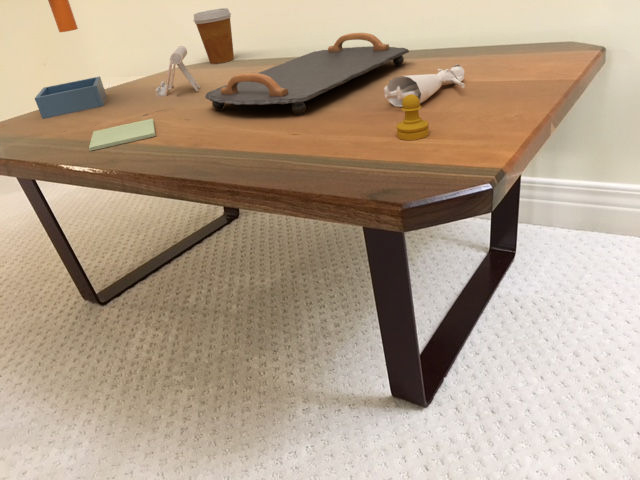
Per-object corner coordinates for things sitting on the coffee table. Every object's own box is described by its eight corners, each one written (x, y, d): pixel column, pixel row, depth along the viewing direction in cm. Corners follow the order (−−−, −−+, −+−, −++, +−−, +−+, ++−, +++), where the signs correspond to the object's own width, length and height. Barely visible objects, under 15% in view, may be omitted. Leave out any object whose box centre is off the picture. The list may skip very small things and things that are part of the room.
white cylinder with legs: (164, 91, 115) (153, 50, 111) (201, 85, 115) (191, 44, 111) (158, 101, 107) (145, 57, 103) (197, 94, 108) (186, 50, 104)
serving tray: (325, 61, 118) (321, 31, 115) (420, 60, 105) (418, 26, 102) (193, 115, 92) (183, 79, 90) (297, 123, 79) (289, 80, 76)
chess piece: (410, 127, 70) (408, 89, 67) (435, 131, 67) (433, 91, 64) (390, 137, 67) (387, 97, 65) (415, 141, 65) (412, 100, 62)
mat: (90, 151, 82) (88, 147, 82) (94, 134, 91) (93, 131, 91) (155, 136, 84) (154, 132, 84) (153, 121, 93) (153, 118, 93)
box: (44, 122, 105) (34, 98, 103) (52, 110, 115) (43, 87, 113) (104, 109, 108) (96, 85, 105) (107, 98, 118) (100, 76, 115)
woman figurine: (359, 77, 79) (430, 57, 90) (361, 108, 80) (430, 84, 92) (426, 81, 71) (495, 58, 82) (426, 115, 73) (493, 88, 84)
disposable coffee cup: (197, 67, 137) (185, 16, 131) (212, 59, 145) (201, 11, 139) (232, 63, 134) (221, 11, 129) (245, 55, 142) (235, 6, 137)
